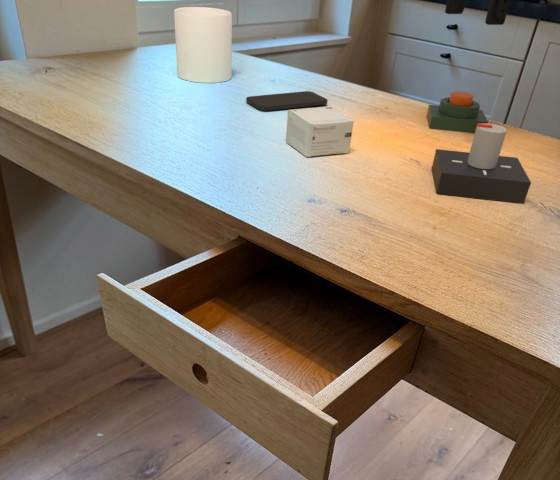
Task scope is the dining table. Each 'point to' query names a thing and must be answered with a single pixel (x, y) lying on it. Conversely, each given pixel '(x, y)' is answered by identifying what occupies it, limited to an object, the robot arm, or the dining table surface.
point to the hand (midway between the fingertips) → (473, 18)
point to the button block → (455, 117)
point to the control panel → (479, 178)
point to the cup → (203, 44)
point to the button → (461, 98)
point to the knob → (486, 146)
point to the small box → (319, 131)
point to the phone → (286, 100)
